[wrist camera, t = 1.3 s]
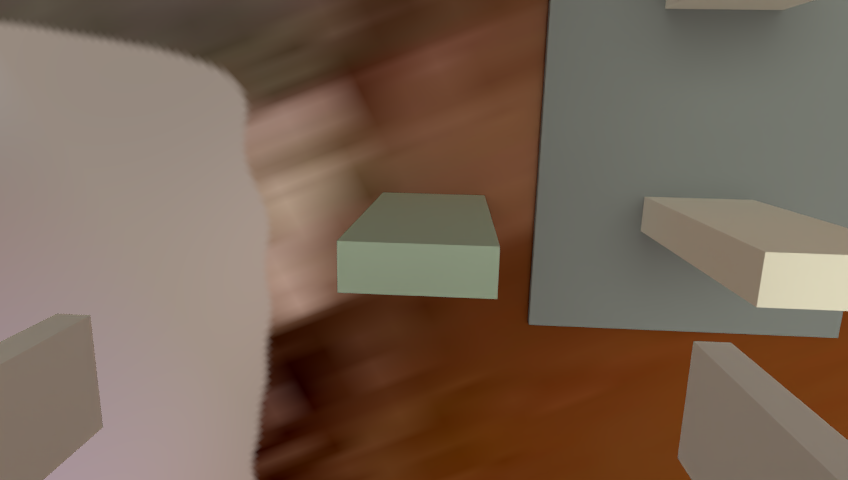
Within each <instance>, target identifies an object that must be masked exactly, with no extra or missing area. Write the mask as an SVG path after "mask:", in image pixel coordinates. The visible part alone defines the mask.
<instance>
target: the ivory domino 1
mask: <svg viewBox="0 0 848 480" xmlns="http://www.w3.org/2000/svg"><path fill="white" fill-rule="evenodd" d="M810 1H813V0H666V5H665V9H730V10H785V9H788V8H791V7H794V6H797V5H800V4H804V3H807V2H810Z"/></svg>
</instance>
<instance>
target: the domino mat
mask: <svg viewBox="0 0 848 480" xmlns="http://www.w3.org/2000/svg"><path fill="white" fill-rule="evenodd" d="M665 5H666V0H549V10H548V25H547V40H546V55H545V70H544V85H543V100H542V115H541V130H540V145H539V160H538V175H537V190H536V205H535V220H534V235H533V250H532V265H531V280H530V295H529V310H528V323H529V325H547V326H571V327H594V328H618V329H641V330H664V331H688V332H711V333H735V334H758V335H781V336H805V337H828V338H838V335H839V330H840V325H841V320H842V314H843V311H834V310H810V309H785V308H760V307H755V306H754V305H752V304H751V303H749V302H748V301H746V300H745V299H743V298H742V297H740V296H738V295H737V294H735V293H734V292H732V291H731V290H729V289H728V288H726V287H725V286H723V285H722V284H720V283H719V282H717V281H716V280H714V279H713V278H711V277H710V276H708V275H707V274H705V273H704V272H702V271H701V270H699V269H698V268H696V267H694V266H693V265H691V264H690V263H688V262H687V261H685V260H684V259H682V258H681V257H679V256H678V255H676V254H675V253H673V252H672V251H670V250H669V249H667V248H666V247H664V246H663V245H661V244H660V243H658V242H657V241H655V240H653V239H652V238H650V237H649V236H647V235H646V234H644V233H643V232H641V224H642V214H643V205H644V197H675V198H708V199H741V200H755V201H759V202H762V203H765V204H769V205H772V206H775V207H779V208H782V209H785V210H789V211H792V212H795V213H799V214H802V215H805V216H809V217H812V218H815V219H819V220H822V221H825V222H829V223H832V224H835V225H839V226H842V227H845V228H848V0H813V1H810V2H807V3H804V4H800V5H797V6H794V7H791V8H788V9H785V10H730V9H665Z"/></svg>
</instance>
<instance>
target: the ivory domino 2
mask: <svg viewBox="0 0 848 480" xmlns="http://www.w3.org/2000/svg"><path fill="white" fill-rule="evenodd" d="M641 232H643V233H644V234H646V235H647V236H649V237H650V238H652V239H653V240H655V241H657V242H658V243H660V244H661V245H663V246H664V247H666V248H667V249H669V250H670V251H672V252H673V253H675V254H676V255H678V256H679V257H681V258H682V259H684V260H685V261H687V262H688V263H690V264H691V265H693V266H694V267H696V268H698V269H699V270H701V271H702V272H704V273H705V274H707V275H708V276H710V277H711V278H713V279H714V280H716V281H717V282H719V283H720V284H722V285H723V286H725V287H726V288H728V289H729V290H731V291H732V292H734V293H735V294H737V295H738V296H740V297H742V298H743V299H745V300H746V301H748V302H749V303H751V304H752V305H754V306H755V307H760V308H785V309H810V310H834V311H848V228H845V227H842V226H839V225H835V224H832V223H829V222H825V221H822V220H819V219H815V218H812V217H809V216H805V215H802V214H799V213H795V212H792V211H789V210H785V209H782V208H779V207H775V206H772V205H769V204H765V203H762V202H759V201H755V200H741V199H708V198H675V197H644V205H643V214H642V224H641Z"/></svg>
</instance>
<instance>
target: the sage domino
mask: <svg viewBox="0 0 848 480" xmlns="http://www.w3.org/2000/svg"><path fill="white" fill-rule="evenodd" d="M499 257H500V245H499V242H498V238H497V235H496V232H495V228H494V225H493V222H492V218H491V215H490V212H489V208H488V205H487V202H486V199H485V195H455V194H422V193H389V192H383V193H382V194H381V195H380V196H379V197H378V198H377V199H376V200H375V201H374V202H373V204H372V205H371V206H370V207H369V208H368V209H367V210H366V211H365V212H364V213H363V214H362V215H361V216H360V217H359V218H358V219H357V220H356V221H355V222H354V223H353V225H352V226H351V227H350V228H349V229H348V230H347V231H346V232H345V233H344V234H343V235H342V236H341V237H340V238H339V239H338V240H337V288H338V293H361V294H386V295H410V296H435V297H460V298H485V299H497V295H498V276H499Z"/></svg>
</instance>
